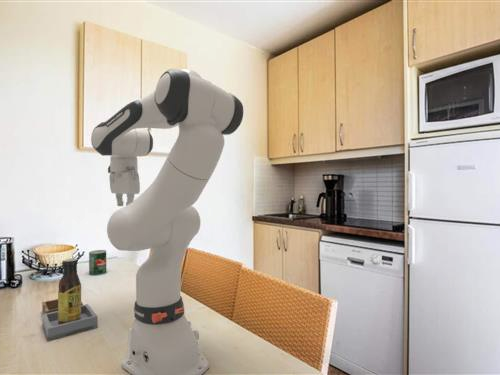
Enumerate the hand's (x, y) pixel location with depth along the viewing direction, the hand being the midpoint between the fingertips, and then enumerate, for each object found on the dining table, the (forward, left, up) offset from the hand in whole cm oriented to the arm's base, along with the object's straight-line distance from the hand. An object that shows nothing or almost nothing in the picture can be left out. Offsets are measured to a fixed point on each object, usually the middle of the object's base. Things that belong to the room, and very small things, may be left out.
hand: (124, 206), depth 109 cm
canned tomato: (+57, -4, -37) cm, 68 cm away
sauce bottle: (-2, +18, -36) cm, 40 cm away
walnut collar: (+12, +18, -36) cm, 42 cm away
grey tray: (-1, +18, -36) cm, 41 cm away
